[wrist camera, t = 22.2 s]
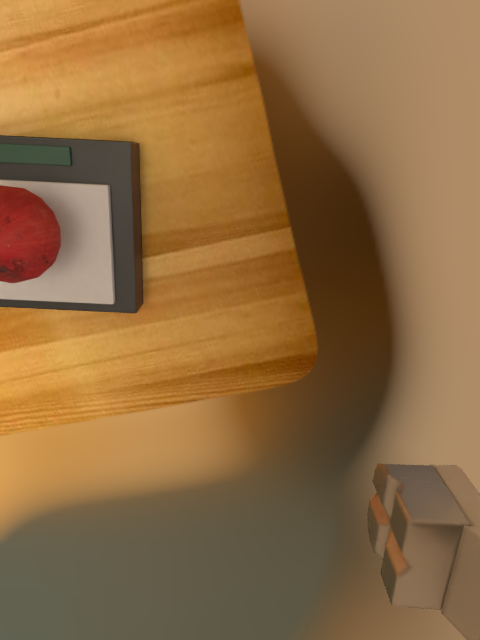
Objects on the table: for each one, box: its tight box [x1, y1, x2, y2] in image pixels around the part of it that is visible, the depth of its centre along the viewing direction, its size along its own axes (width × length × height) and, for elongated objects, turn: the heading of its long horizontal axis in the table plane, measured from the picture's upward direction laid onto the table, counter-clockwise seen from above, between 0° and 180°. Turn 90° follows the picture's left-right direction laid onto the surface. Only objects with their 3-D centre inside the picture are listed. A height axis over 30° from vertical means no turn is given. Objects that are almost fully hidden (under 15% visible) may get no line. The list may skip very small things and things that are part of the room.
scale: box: [0, 135, 143, 313], centre depth 33 cm, size 13×12×3 cm
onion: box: [0, 185, 61, 283], centre depth 27 cm, size 6×6×8 cm
